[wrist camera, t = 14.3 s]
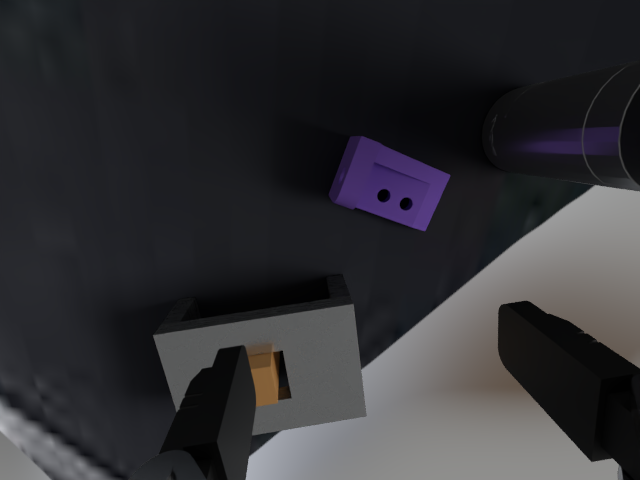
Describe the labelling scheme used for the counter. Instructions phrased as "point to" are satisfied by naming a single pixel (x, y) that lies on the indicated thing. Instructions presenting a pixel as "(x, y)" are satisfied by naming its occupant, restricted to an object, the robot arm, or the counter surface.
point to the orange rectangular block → (265, 377)
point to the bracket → (387, 183)
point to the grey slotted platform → (271, 336)
